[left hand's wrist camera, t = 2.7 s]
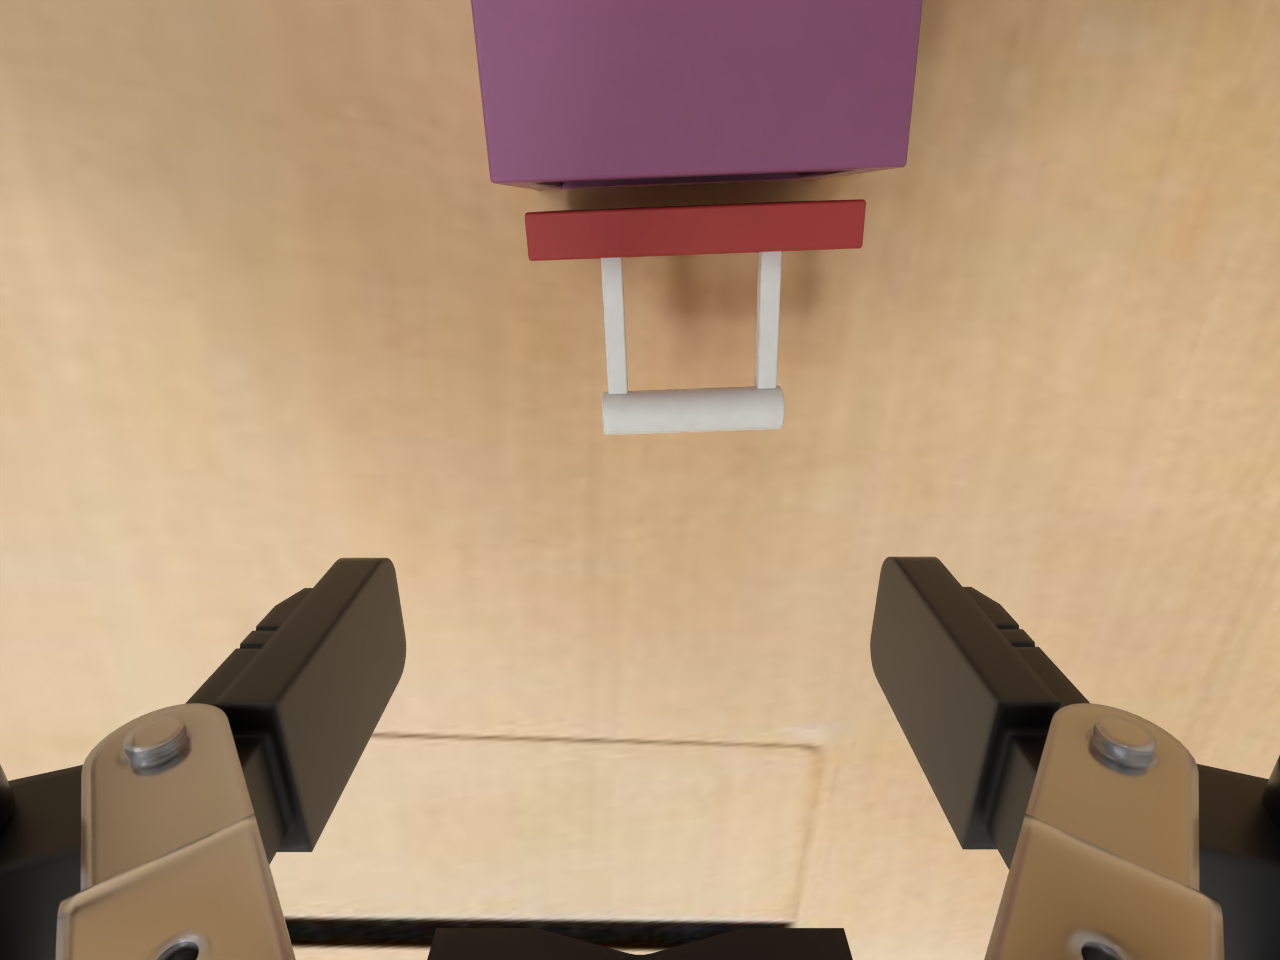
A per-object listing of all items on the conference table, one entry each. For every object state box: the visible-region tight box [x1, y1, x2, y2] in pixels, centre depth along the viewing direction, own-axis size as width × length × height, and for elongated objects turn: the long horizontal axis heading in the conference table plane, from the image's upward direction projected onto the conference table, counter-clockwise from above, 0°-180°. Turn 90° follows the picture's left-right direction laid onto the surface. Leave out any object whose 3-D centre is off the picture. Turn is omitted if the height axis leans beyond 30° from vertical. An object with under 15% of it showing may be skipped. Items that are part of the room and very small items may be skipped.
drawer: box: [525, 200, 866, 435], centre depth 19 cm, size 22×9×6 cm, turn 2°
